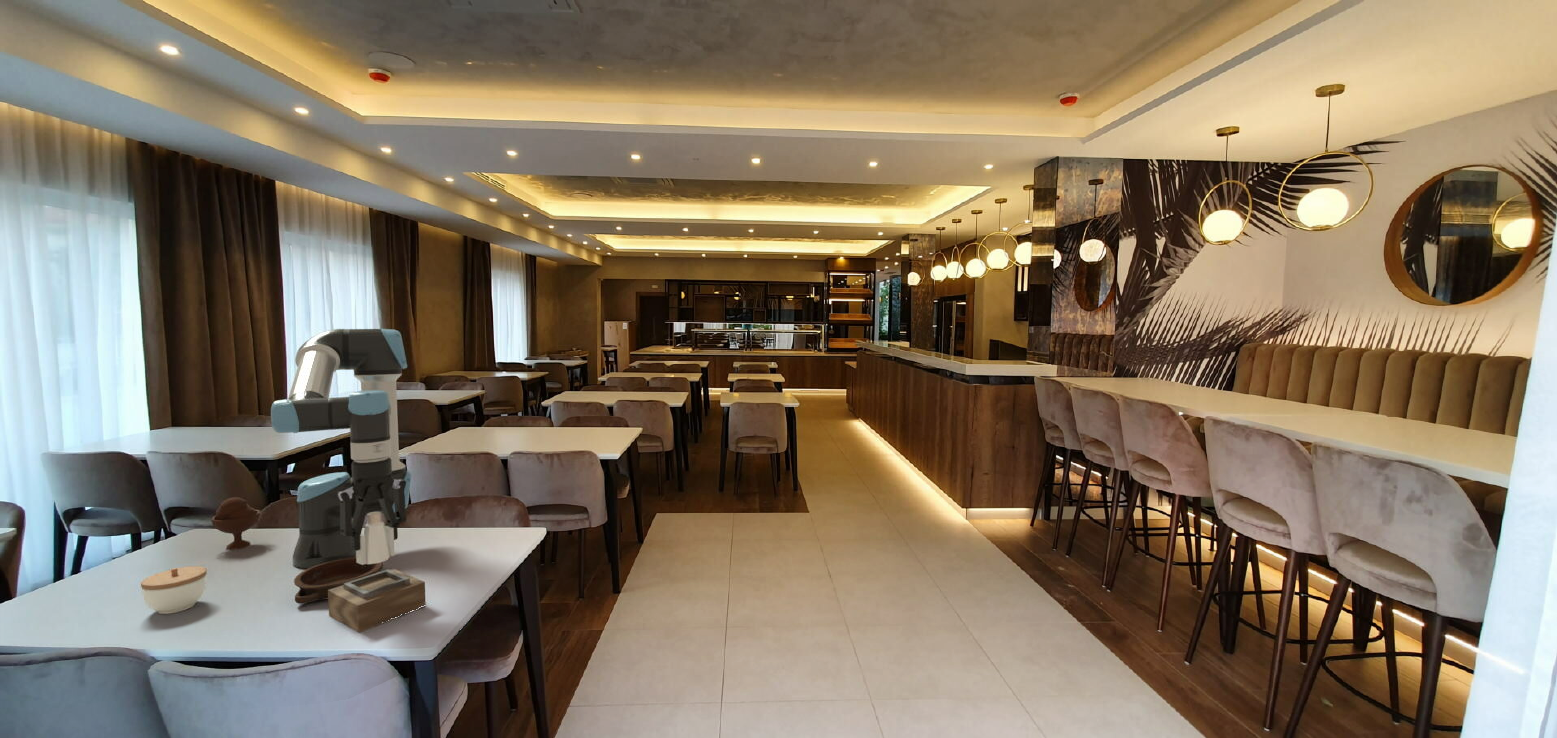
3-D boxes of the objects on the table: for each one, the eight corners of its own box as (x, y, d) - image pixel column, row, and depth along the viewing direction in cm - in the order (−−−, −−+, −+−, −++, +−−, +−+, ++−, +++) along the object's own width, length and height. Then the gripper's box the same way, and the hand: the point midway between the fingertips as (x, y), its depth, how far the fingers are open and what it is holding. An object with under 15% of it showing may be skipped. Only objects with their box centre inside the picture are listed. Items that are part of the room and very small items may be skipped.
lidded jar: (150, 623, 131) (147, 582, 130) (137, 610, 137) (134, 571, 136) (215, 604, 140) (213, 565, 140) (200, 593, 146) (197, 556, 145)
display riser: (329, 615, 135) (327, 584, 135) (394, 592, 147) (393, 564, 147) (359, 632, 128) (357, 600, 128) (425, 606, 140) (424, 576, 139)
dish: (266, 605, 140) (265, 585, 140) (351, 568, 162) (350, 550, 162) (327, 613, 137) (326, 592, 137) (405, 574, 158) (405, 555, 158)
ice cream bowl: (268, 544, 178) (266, 495, 177) (219, 556, 169) (216, 504, 168) (255, 537, 184) (252, 489, 183) (207, 548, 175) (203, 498, 173)
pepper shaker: (393, 559, 137) (391, 512, 136) (365, 566, 133) (362, 518, 132) (386, 553, 140) (384, 507, 140) (358, 560, 136) (356, 513, 136)
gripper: (332, 468, 125) (337, 576, 127) (422, 453, 141) (425, 549, 142) (316, 464, 129) (321, 568, 131) (405, 450, 145) (409, 543, 146)
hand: (375, 558), depth 137 cm, fingers closed on pepper shaker, 5 cm apart
